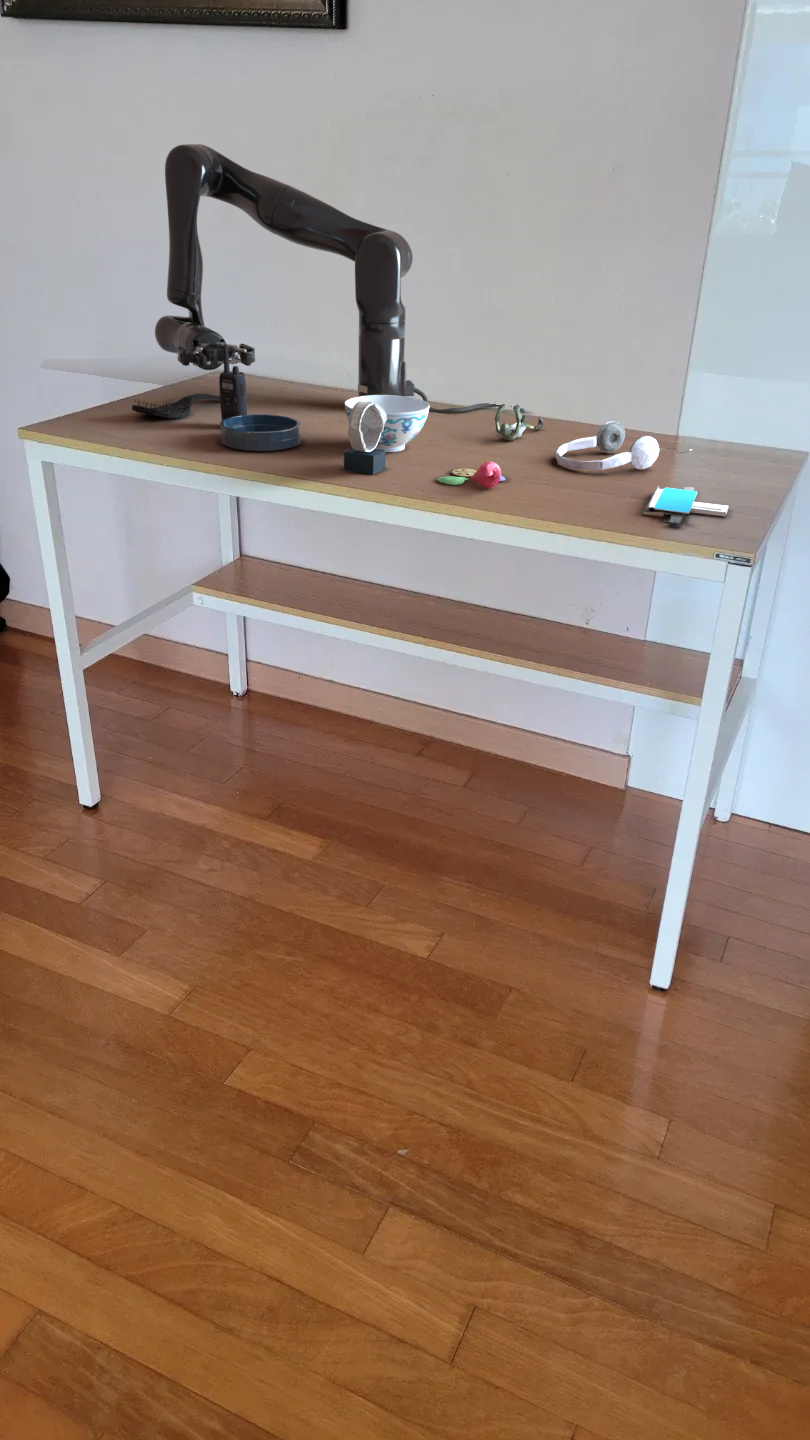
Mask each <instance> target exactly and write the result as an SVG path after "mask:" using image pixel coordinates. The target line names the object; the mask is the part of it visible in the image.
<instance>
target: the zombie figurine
mask: <svg viewBox="0 0 810 1440" xmlns="http://www.w3.org/2000/svg"><path fill="white" fill-rule="evenodd" d="M519 405H520V404H518V405H516V406H514V407H512V409H513V411H514V413H515V420H516V421H515V422H514V423H512V424H510V425H509V423H507V422H503V423H502V424H501V425H500V412H501V411H503V410H504V409H505V408H506V406H505V404H502V405H500V406H499V407H497V411H496V413H495V415H494V420H495V431H496V433H497V434H498V435H500V436H501V438H502V439H504V440H505V441H510V442H511V441H512V442H513V441H514V440H515V439H517V438H521V437H522V434H523V432H524V431H525V430H527V429H528V430H536V431H542V429H543V427H544V419H543V418H542V417H538V420H537V421H538V422H537V426H536V425H534V426H533V425H531V424H528V423H527V422H526V419H527V415H526V414H525V413H521V412H520V411H519V410H520V406H521V405H520V406H519Z"/></svg>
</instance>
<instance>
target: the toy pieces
mask: <svg viewBox="0 0 810 1440" xmlns="http://www.w3.org/2000/svg"><path fill="white" fill-rule="evenodd" d="M452 475H453V476H452ZM468 478H470V479H471V480H472V481H474V482H475V483H476V484H477V485H479V486H480V487H483V488H485V489H489V488H493V487H495V486H497V485H498V484H499V483H500V482H505V481H506V477H505V476H503V475H502V470H501V468H500V466H499V465H498V463H496V462H493V461H491V460H490V461H485V462H483V463H482V464H480V466H479V467H478V469H473V468H456V469H453V470H452V471H451V476H450V475H449V476H447V475H445V476H440V477H437V479H436V480H437V482H439V483H441V484H444V485H448V486H461V485H463V484H464V483H465V481H466V482H467V481H469V479H468Z"/></svg>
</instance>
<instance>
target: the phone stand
mask: <svg viewBox="0 0 810 1440" xmlns="http://www.w3.org/2000/svg"><path fill="white" fill-rule="evenodd" d="M697 494H698V491H697V490H695V487H692V486H684V487H683V489H681V488H672V487H663V489H662V488H660V485H658V486H657V487H656V489H655V490H654V491H653V493H652V495H651V497H650V499H649V500H648V501H647V504H646V505H645V508H644V510H643V512H642V515H645V516H653V517H661V518H663V520H662V523H666V524H668V527H675V528H680V527H681V525H682V523H683V520H684V518H685V515H689V514H690V513H693V514H702V515H709V516H710V515H711V516H716V517H717V516H718V517H719V516H720V517H726V516H727V514H728V510H729V505H725V504H716V503H708V502H700V501H695V500H696V497H697ZM689 525H690V524H688V526H689Z"/></svg>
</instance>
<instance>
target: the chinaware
mask: <svg viewBox="0 0 810 1440" xmlns="http://www.w3.org/2000/svg"><path fill="white" fill-rule="evenodd" d="M360 401H361V402H367V401H369V402H374V403H376V404H378V405H379V406H380V407H382V408H383V410H384V411H385V413H386V416H387V420H386V422H385V424H384V429H383V432H382V433H381V435H380V439H379V441H378V444H377V446H376V448H375V449H380V450H385V453H396V452H401V451H404V450H405V449H406V444H407V443H410V441H412V440H413V439H415V437H416V436H417V435H418V434H420V432H421V431H422V429H423V428H424V426H425V423H426V421H427V418H428V416H429V412H430V411H429V407H431V406H430V403H427V402H426V401H423V399H421V398H416V397H413V396H395V395H369V396H360V397H358V396H355V397H351V398H348V399H346V400H345V401H344V410H345V414H346V418H347V420H348V421H349V419H350V414H351V411H352V409H353V407H354V405H355V404H356V403H357V402H360ZM354 425H356V424H354ZM360 430H361V431H362V434H363V439H364V442H365V440H366V437H367V434H368V430H365V427H364V425H363V423H362V422H361V426H360ZM376 438H377V437H376Z"/></svg>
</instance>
